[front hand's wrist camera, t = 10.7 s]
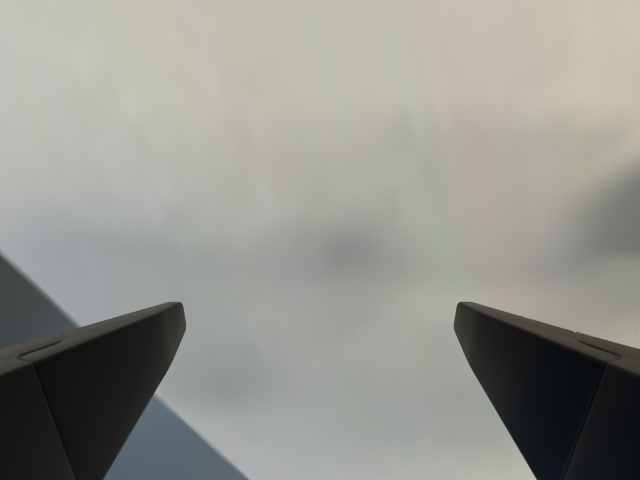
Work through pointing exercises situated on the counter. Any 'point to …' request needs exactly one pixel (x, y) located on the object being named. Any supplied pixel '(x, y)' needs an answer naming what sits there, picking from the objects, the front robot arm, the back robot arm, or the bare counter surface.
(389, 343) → the counter surface
